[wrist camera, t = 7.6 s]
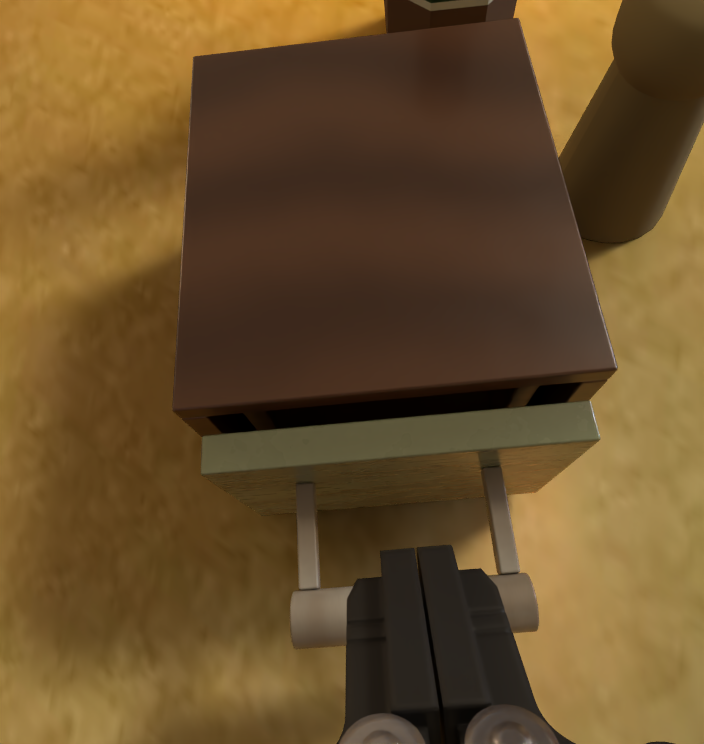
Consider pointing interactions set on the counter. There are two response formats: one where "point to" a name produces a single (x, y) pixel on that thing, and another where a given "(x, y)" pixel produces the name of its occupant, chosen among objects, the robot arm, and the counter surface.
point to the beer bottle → (443, 13)
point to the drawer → (398, 476)
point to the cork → (638, 121)
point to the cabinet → (378, 230)
